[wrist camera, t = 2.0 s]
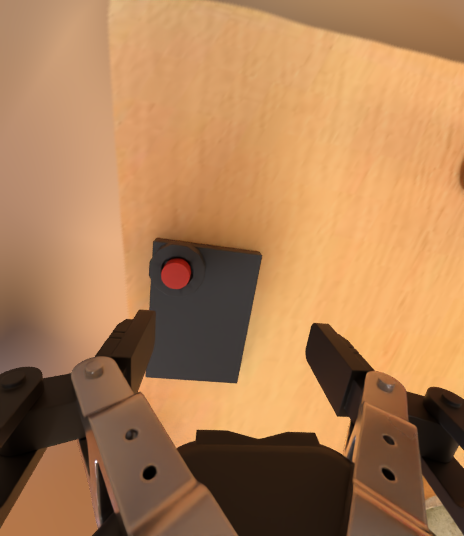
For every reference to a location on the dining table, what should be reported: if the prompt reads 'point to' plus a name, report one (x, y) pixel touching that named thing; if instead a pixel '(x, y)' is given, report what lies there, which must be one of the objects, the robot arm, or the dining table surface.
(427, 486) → the bowl
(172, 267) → the button
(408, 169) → the dining table surface
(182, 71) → the dining table surface
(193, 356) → the grey plate red button
